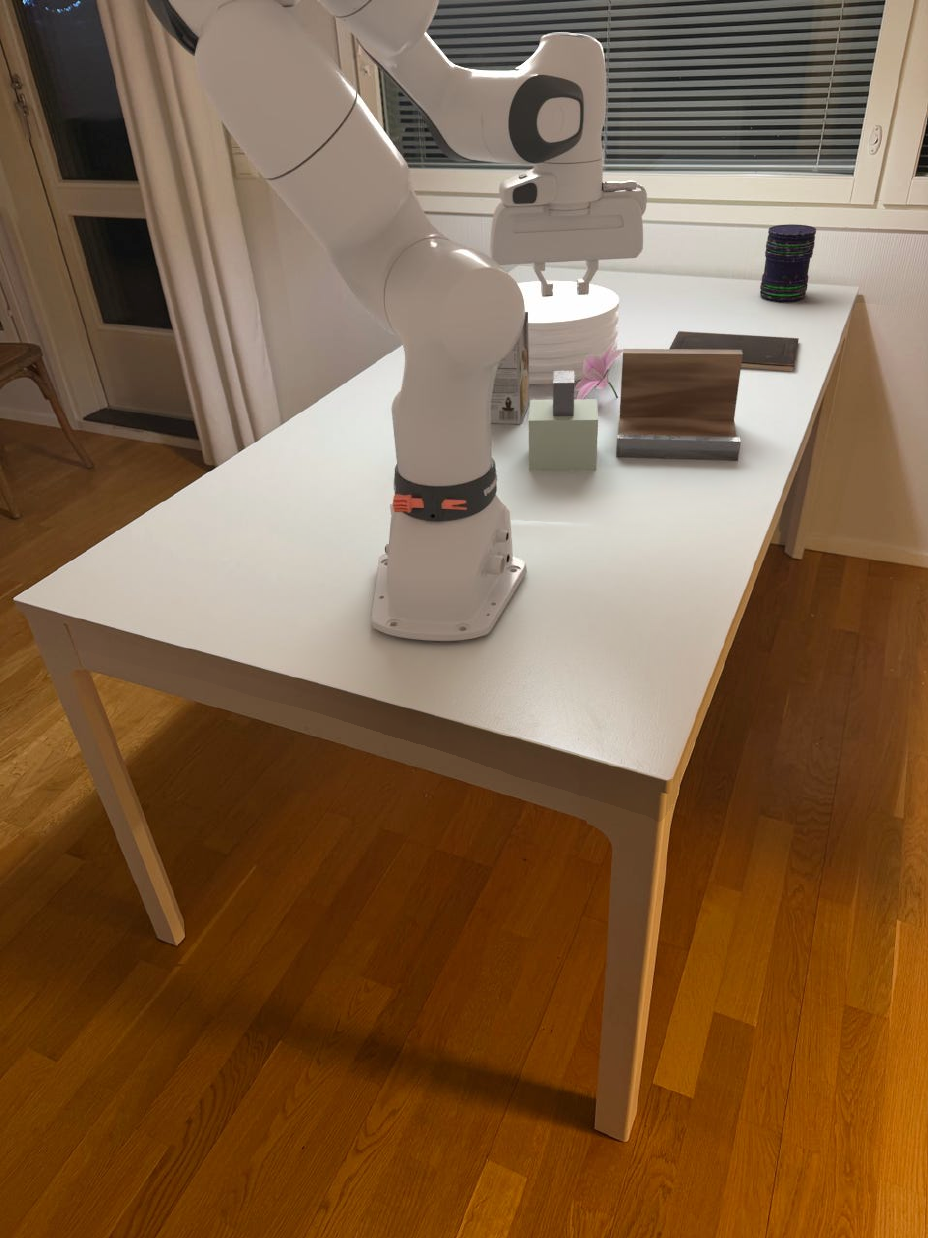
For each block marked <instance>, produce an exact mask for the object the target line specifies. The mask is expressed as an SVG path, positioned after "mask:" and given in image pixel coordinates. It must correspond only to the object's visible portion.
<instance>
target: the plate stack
mask: <svg viewBox="0 0 928 1238" xmlns="http://www.w3.org/2000/svg"><path fill="white" fill-rule="evenodd" d="M551 281H552V283H553V290H552V291H553V296H550V297H542V295H541V282H540V280H539V281H527V282H519V283H518V282H516V283H517V284H518V286H519V287H520V290H521V292H522V295H523V298H524V304H525V312H528V351H529V385H551V384H552V385H553V376H554V371H574V382H575V381H576V382H577V381H579V380H580V381H581V379H583V378H584V377H585V375H584V373H583V362H584V359H585V357H586V356H587V355H589V354H595V355H598V356H600V357H601V356H602V354H603V353H604V351H605V350H606V349H607V347H608V346H609V345H610V344H611V343H612V342H613V341H614V345H613V348H612V351H611V352H613V351H616V350H618V333H619V332H618V331H619V326H618V323H619V314H620V313H619V308H620V297H619V295H618V294H616V292H614V291H613V290H611V289H609V288H606V287H604V286H600V285H596V284H592V283H589V294H588V295H578V294H577V291H576V288H577V281H567V280H565V281H562V280H551ZM616 361H617V359H616V360H615V361H614V362H613V363H612V364H611V365H610V367H609V369H610V368H611V367H613V365H614V364H615V363H616Z"/></svg>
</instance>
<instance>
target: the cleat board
mask: <svg viewBox="0 0 928 1238" xmlns="http://www.w3.org/2000/svg"><path fill="white" fill-rule="evenodd" d="M622 350H623V352H622V363H621V365H622V366H621V381H620V382H621V383H620V399H619V400H620V403H619V416H618V417H619V420H618V429H617V435H616V436H617V437H616V449H615V451H616V453H615V457H616V458H642V459H643V458H644V459H646V458H648V459H650V458H651V459H677V460H678V459H679V460H681V459H683V460H709V461H711V460H712V461H739V456H740V452H741V451H740V449H741V443H742V441H741V437H738V434H737V429H736V423H735V417H736V409H737V408H736V407H737V400H738V391H739V385H740V379H741V377H740V376H741V371H742V370H741V363H742V356H743V353H742V350H702V349H669V348H668V349H667V348H649V349H648V348H623V349H622Z"/></svg>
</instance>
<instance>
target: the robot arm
mask: <svg viewBox="0 0 928 1238" xmlns="http://www.w3.org/2000/svg"><path fill="white" fill-rule="evenodd" d="M145 1H146V2H147V5H148V6H149V8H150V10H151V11H152V13H153V15H154V16H155V17H156V19H157V20H158V21H159V23H160V24H161V25H162V27H163V28H164V30H166V32H167V33H168V34H169V35H170V36H171V37H172V38H173V39H174V40H175V41H176V42H177V43H178V44H179V45H180V46H181V47H182V48H183V49H184V50H185V51H187V53H189V54H191V56H193V57H194V69H195V73H196V77H197V79H198V80H197V81H198V83H199V85H200V87H201V89H202V90H203V91H204V94H205V95H206V97H207V99H208V101H209V102H210V104H211V106H212V107H213V109H214V111H215V112H216V115H218V117H219V118H220V120H221V122H222V124H223V125H224V126H225V128H226V129H227V131H228V133H229V134H230V135H231V137H232V138H233V139H234V141H235V142H236V144H237V145H238V147H239V148H240V149H241V150H242V152H243V153H244V155H245V156H246V158H248V160H249V162H250V163H251V164H252V165H253V166H254V168H256V170H257V171H258V173H259V174H260V175H261V176H262V177H263V178H264V179H265V182H267V183H268V184H269V186H270V187H271V188H272V190H273V191H275V193H276V194H277V195H278V196H279V198H280V199H281V200H282V201H283V202H284V203H285V205H286V206H287V208H288V209H290V211H291V212H292V213H293V214H294V215H295V216H296V218H297V219H298V220H299V221H300V222H301V224H302V225H303V226H304V227H305V229H306V230H308V232H309V233H310V235H311V236H312V237H313V238H314V239H315V241H316V242H317V243H318V244H319V245H320V246H321V248H322V250H323V251H324V252H325V254H326V255H327V257H328V258H329V260H330V261H331V263H332V264H333V266H334V268H335V269H336V271H337V273H338V274H339V275H340V277H341V279H342V280H343V281H344V283H345V285H346V286H347V287H348V289H349V290H350V291H351V293H352V294H353V295H354V297H355V299H357V301H358V302H359V304H361V306H362V308H363V309H364V310H365V311H366V313H367V314H368V315H369V316H370V318H371V319H372V320H373V321H374V322H375V323H376V324H377V325H378V326H379V327H381V328H382V329H384V330H385V331H387V332H388V333H390V334H392V335H394V336H396V337H397V338H399V339H400V342H401V344H402V347H403V353H404V367H403V368H404V369H403V376H402V383H401V388H400V390H399V391H398V393H396V395H395V396H394V398H393V400H392V403H391V416H392V425H393V427H392V428H393V429H392V430H393V438H394V445H395V446H394V448H395V457H396V465H395V467H394V478H393V492H394V495H393V497H392V498H393V500H392V503H391V504H389V509H390V515H391V517H390V526H389V535H388V537H389V538H388V543H386V544H385V546H384V554H381V555H380V556H379V557H378V565H377V569H376V570H377V571H376V578H375V579H376V580H375V585H374V586H375V587H374V596H373V602H372V610H371V620H370V621H371V627H372V628H373V629H376V630H377V631H378V632H381V633H384V634H386V635H390V636H394V637H398V638H404V639H411V640H420V641H421V640H422V641H434V642H435V641H439V642H445V641H446V642H449V641H450V642H451V641H452V642H453V641H465V640H471V639H476V638H480V637H483V636H486V635H488V634H489V633H490V632H491V631H492V629H493V628H494V626H495V624H496V622H497V621H498V619H499V618H500V616H501V614H502V613H503V612H504V610H505V608H506V607H507V605H508V603H509V601H511V598H512V597H513V595H514V594H515V592H516V590H517V588H518V587H519V586H520V584H521V582H522V580H523V579H524V577H525V576H526V573H527V572H528V571H527V569H528V568H527V564H526V562H525V561H524V560H523V559H521V558H518V557H516V556H514V553H513V537H512V523H511V513H510V512H511V511H510V509H509V508H508V507H507V506H506V505H505V504H504V503H503V502H502V500H500V498H499V497H498V495H497V490H498V489H497V488H498V486H497V482H498V472H497V469H496V468H497V466H496V461H495V459H494V458H493V457H492V423H491V397H492V391H493V385H494V381H495V377H496V373H497V369H498V366H499V363H500V361H501V360H502V359H503V358H504V357H505V356H506V355H507V354H508V353H509V352H510V351H511V350H512V348H513V347H514V346H515V344H516V342H517V341H518V339H519V337H520V334H521V331H522V328H523V325H524V319H525V304H524V298H523V295H522V292H521V290H520V287H519V286H518V284H517V283H518V282H517V281H516V280H515V279H514V278H513V277H512V275H511V274H509V273H508V272H507V271H506V270H505V268H503V266H506V265H507V266H510V265H526V264H532V269H533V270H534V273H535V274H536V276H537V278H538V280H539V281H540V282H541V295H542V297H550V296H553V291H552V290H553V283H552V281H553V280H546V278H545V277H544V275H543V273H542V272H546V264H547V263H565V262H567V263H568V262H569V263H570V262H585V265H586V268H587V269H586V272H585V274H584V275H583V277H582V278H577V279H576V282H577V288H576V291H577V294H578V295H588V294H589V284H590V283H591V281H592V280H593V277H594V276H595V275H596V273H597V271H598V269H599V262H600V261H604V260H606V261H607V260H625V259H636V258H638V257H639V255H640V254H641V253H642V252H643V248H644V228H643V225H644V224H643V216H644V214H645V211H646V210H647V198H648V194H647V190H646V189H645V188H644V186H643V185H641V184H639V183H637V181H635V180H627V181H626V180H625V181H603V173H604V149H603V143H602V134H603V133H602V131H603V129H604V128H603V127H604V125H605V121H606V111H607V70H606V59H605V53H604V48H603V46H602V43H600V41H598V40H597V39H596V38H595V37H592V36H590V35H587V34H583V33H582V34H581V33H571V32H566V31H565V32H564V31H563V32H562V31H561V32H551V33H547V34H544V35H543V36H541V38H540V41H539V45H538V48H537V49H536V50H535V51H534V53H533V54H532V55H531V56H530V57H529V58H527V59H526V61H525V62H523V63H522V64H521V65H519V66H517V67H515V70H480V69H472V68H466V67H462V66H459V65H456V64H454V63H453V62H451V61H450V59H448V57H447V56H446V55H445V54H444V52H443V51H442V50H441V48H439V46H438V45H437V44H436V43H435V42H434V40H433V39H432V38H431V36H429V34H428V33H427V31H428V29H429V28H430V25H431V23H432V21H433V19H434V18H435V14H436V12H437V9H438V6H439V3H440V0H316V1H317V2H318V3H319V4H320V5H321V6H322V7H323V8H324V9H325V10H326V11H327V12H328V13H329V14H331V16H332V17H334V18H335V19H336V20H337V21H338V22H339V23H340V24H341V25H342V26H343V27H345V29H347V30H348V31H349V32H350V34H352V35H353V36H354V37H355V39H356V41H357V43H358V45H359V46H360V47H361V49H362V50H363V51H364V52H365V54H366V55H367V56H368V57H369V59H370V60H371V61H372V62H373V63H374V64H375V65H376V66H377V68H378V69H379V70H380V71H381V72H382V74H384V75H385V76H386V78H388V79H389V81H390V82H391V83H392V84H393V85H394V86H395V88H397V89H398V90H399V91H400V93H402V94H403V96H404V97H405V98H406V99H407V100H408V101H409V102H410V103H411V104H412V105H413V107H414V108H415V109H416V110H417V112H418V113H419V114H420V116H421V118H422V119H423V121H424V123H425V124H426V127H427V129H428V131H429V133H430V135H431V137H432V139H433V142H434V143H435V144H436V145H437V147H438V149H439V150H440V151H441V152H442V154H443V155H445V156H446V157H448V159H451V160H452V161H456V162H462V163H463V162H488V163H499V164H505V165H506V164H507V165H508V164H511V165H521V166H522V165H523V166H533V168H531V169H528V170H526V171H524V172H521V173H518V174H517V175H514V176H511V177H510V178H507V179H505V180H502V181H501V182H500V184H499V187H498V194H499V195H498V196H499V199H500V203H498V204H497V206H496V207H495V209H494V213H493V215H492V220H491V221H492V223H491V228H490V243H489V244H490V248H489V249H490V256H489V255H488V254H486V253H484V252H482V251H479V250H477V249H474V248H471V247H468V246H465V245H463V244H461V243H458V242H455V241H453V240H451V239H449V238H448V237H447V236H446V235H444V234H443V233H442V232H440V231H439V230H438V228H437V227H436V226H434V225H433V224H432V222H431V221H430V220H429V218H428V217H427V215H426V213H425V211H424V209H423V207H422V205H421V203H420V201H419V198H418V197H417V194H416V192H415V190H414V187H413V185H412V183H411V171H410V168H409V165H408V163H407V161H406V160H405V158H404V157H403V155H402V154H401V153H400V151H399V149H398V148H397V147H396V145H395V144H394V143H393V141H392V140H391V139H390V137H389V136H388V134H387V133H386V131H385V130H384V129H383V128H384V127H382V126H381V124H380V122H379V121H378V120H377V118H376V117H375V116H374V114H373V113H372V111H371V110H370V109H369V107H368V105H367V104H366V102H365V101H364V99H363V98H362V97H361V95H360V94H359V93H358V91H357V90H356V88H355V87H354V85H353V84H352V83H351V81H350V80H349V78H348V77H347V76H346V75H345V73H344V72H343V71H342V70H341V68H340V67H339V65H337V63H336V62H335V61H334V60H333V58H332V57H331V56H330V55H329V53H328V52H327V51H326V50H325V49H324V47H323V46H322V45H321V44H320V43H319V42H318V41H317V40H316V39H315V37H314V36H313V35H312V34H311V33H310V32H309V31H308V30H307V28H306V26H305V23H304V20H303V17H302V13H301V10H300V8H299V5H298V3H299V2H300V1H301V0H145ZM637 188H638V189H637Z"/></svg>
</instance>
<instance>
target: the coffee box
mask: <svg viewBox="0 0 928 1238" xmlns="http://www.w3.org/2000/svg"><path fill="white" fill-rule="evenodd" d="M528 407H530V384H529V351H528V312H525V319H524V325H523V328H522V331H521V334H520V337H519V339H518V341H517V342H516V344H515V346H514V347H513V348H512V350H511V351H510V352H509V353H508V354H507V355H506V356H505V357H504V358H503V359H502V360H501V361H500V363H499V366H498V369H497V373H496V377H495V381H494V385H493V391H492V397H491V424H499V425H501V424H502V425H503V424H505V425H506V424H507V425H521V424H522V422H523V421H524V417H525V415H526V413H527V411H528Z"/></svg>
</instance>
